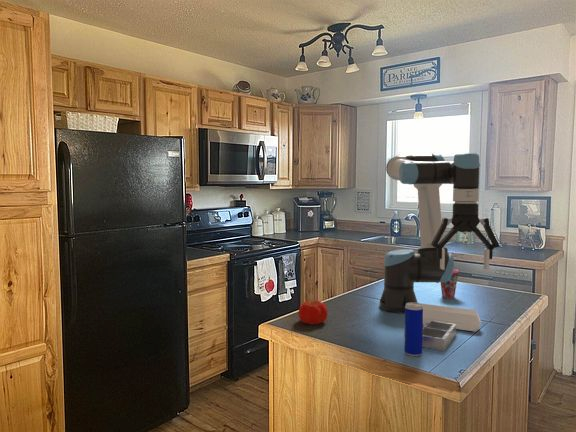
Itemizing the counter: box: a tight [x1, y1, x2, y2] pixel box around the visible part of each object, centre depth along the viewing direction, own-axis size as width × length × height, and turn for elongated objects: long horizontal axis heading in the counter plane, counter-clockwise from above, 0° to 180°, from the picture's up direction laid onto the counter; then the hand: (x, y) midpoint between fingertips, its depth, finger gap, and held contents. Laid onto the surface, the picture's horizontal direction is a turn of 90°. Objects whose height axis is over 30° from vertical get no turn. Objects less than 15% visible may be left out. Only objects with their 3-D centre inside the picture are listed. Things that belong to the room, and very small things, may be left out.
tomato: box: [298, 300, 329, 326], centre depth 163 cm, size 11×11×8 cm
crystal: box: [421, 303, 482, 332], centre depth 158 cm, size 7×7×24 cm
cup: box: [440, 268, 460, 299], centre depth 196 cm, size 9×8×12 cm
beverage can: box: [404, 302, 424, 357], centre depth 133 cm, size 5×5×15 cm
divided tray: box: [422, 320, 457, 352], centre depth 144 cm, size 9×17×4 cm, turn 148°
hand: (464, 269), depth 142 cm, fingers open, 13 cm apart
